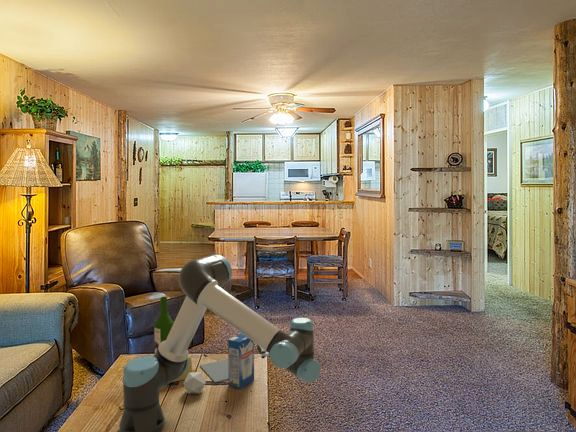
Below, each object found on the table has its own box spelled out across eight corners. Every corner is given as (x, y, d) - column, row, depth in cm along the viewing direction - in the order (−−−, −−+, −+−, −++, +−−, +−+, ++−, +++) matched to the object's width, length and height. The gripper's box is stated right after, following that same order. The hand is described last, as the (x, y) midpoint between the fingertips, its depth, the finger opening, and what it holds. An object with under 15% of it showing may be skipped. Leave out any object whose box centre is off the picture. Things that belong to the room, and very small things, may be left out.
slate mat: (214, 383, 185) (214, 381, 185) (199, 366, 202) (199, 365, 202) (253, 373, 194) (253, 372, 194) (235, 358, 211) (235, 357, 211)
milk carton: (240, 389, 179) (239, 342, 178) (228, 385, 183) (227, 339, 181) (254, 380, 188) (254, 335, 186) (243, 376, 191) (242, 332, 190)
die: (194, 401, 171) (208, 378, 173) (176, 388, 172) (190, 367, 175) (198, 398, 179) (211, 377, 181) (181, 387, 180) (194, 366, 183)
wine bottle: (151, 366, 202) (149, 298, 200) (167, 360, 209) (165, 294, 207) (163, 371, 196) (161, 301, 194) (178, 365, 204) (177, 297, 201)
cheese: (163, 374, 194) (162, 352, 193) (187, 369, 199) (187, 348, 198) (167, 383, 185) (166, 361, 184) (192, 379, 189) (192, 356, 188)
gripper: (271, 372, 147) (242, 351, 167) (303, 363, 153) (271, 344, 174) (270, 350, 146) (241, 332, 166) (303, 342, 153) (270, 325, 173)
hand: (256, 338), depth 170 cm, fingers closed
